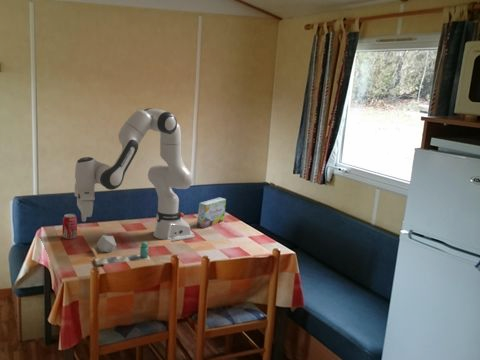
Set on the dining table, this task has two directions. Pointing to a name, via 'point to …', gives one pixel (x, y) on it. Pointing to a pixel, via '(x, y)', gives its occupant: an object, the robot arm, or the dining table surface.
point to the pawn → (144, 250)
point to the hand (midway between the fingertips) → (83, 220)
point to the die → (106, 244)
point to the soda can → (69, 226)
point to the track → (101, 261)
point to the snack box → (211, 212)
